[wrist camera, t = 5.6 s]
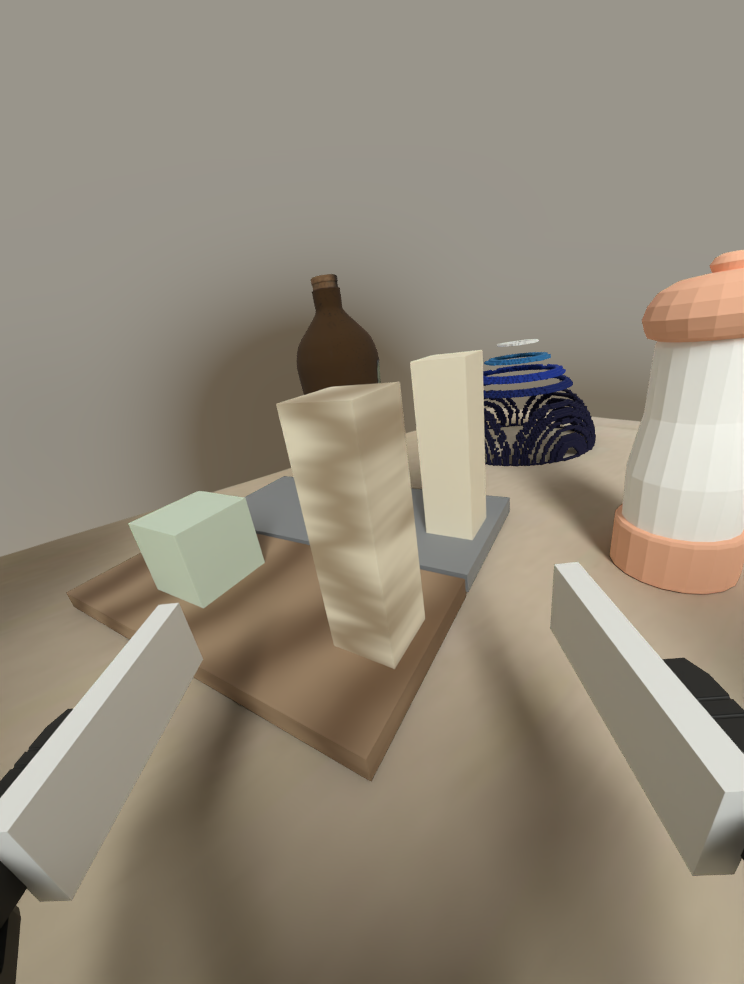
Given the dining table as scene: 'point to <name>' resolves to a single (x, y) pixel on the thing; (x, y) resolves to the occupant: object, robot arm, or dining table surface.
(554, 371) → the blue ringed dome
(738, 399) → the pepper shaker
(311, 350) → the olive oil
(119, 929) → the dining table surface
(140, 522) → the sage block
